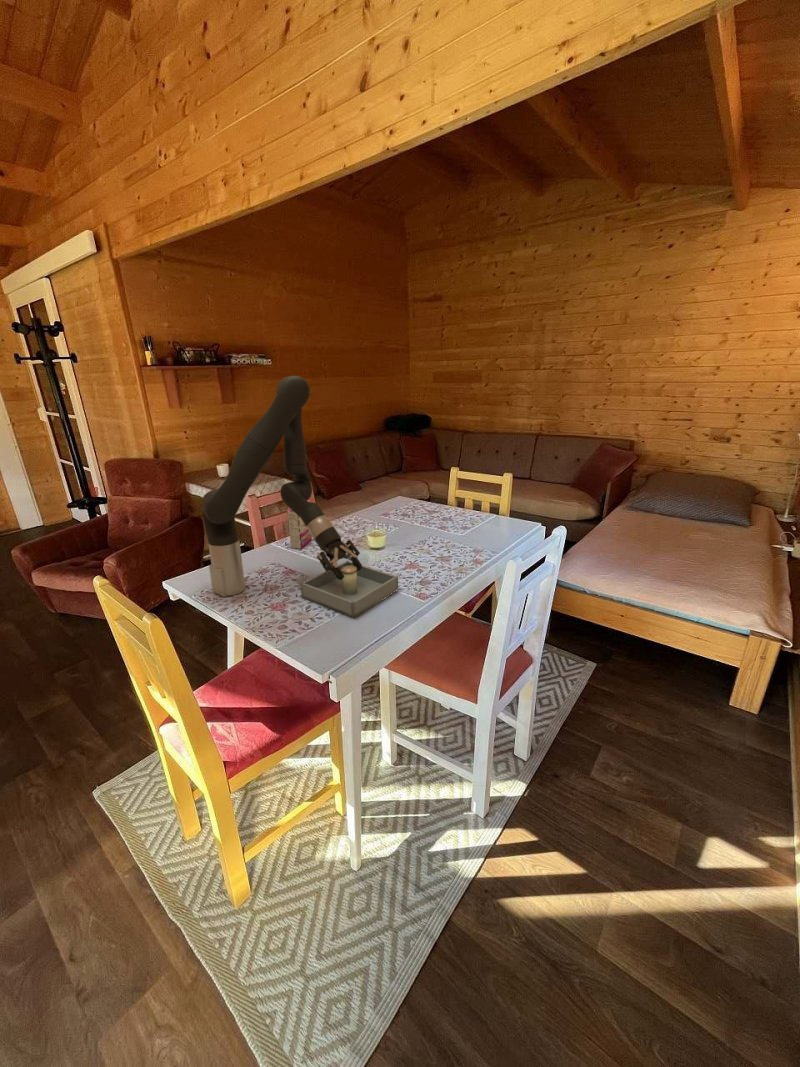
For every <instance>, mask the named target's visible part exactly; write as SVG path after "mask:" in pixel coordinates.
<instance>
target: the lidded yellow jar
mask: <svg viewBox="0 0 800 1067" xmlns="http://www.w3.org/2000/svg"><path fill="white" fill-rule="evenodd" d="M341 570H342V573H343V575H344V578H343V579H342V582H343V593H344V594H348V595H350V594H355V593H356V592H357V572H356V571H357V568H356V567H355V566H344V567H342V569H341Z"/></svg>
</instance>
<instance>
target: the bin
mask: <svg viewBox="0 0 800 1067" xmlns="http://www.w3.org/2000/svg"><path fill="white" fill-rule="evenodd" d="M344 566H354V565H353V563H352V561H351V560H346V561H345V562H342V563H340V564H337V567H339V569H340V570H341V569H342V567H344ZM341 572H342V570H341ZM356 572H357V592H356V593H355V594H350V595H348V594H344V593H343V582H342V580H339V579H338V578H337V577H336V576H335V574H334V573H333V571H331V570H329V571H325V570H324V571H323V572H321V573H319V574H317V575H315V576H313V577H311V578H309V579H306V580H305V581H303V582H301V583H300V593H301V598H302V599H305V600H307V601H309V602H312V603H315V604H317V605H319V606H321V607H324V608H326V609H329V610H331V611H334V612H336V613H339V614H341V615H343V616H344V615H345V616H346V617H349V618H351V619H355V618H357V617H359V616H360V615H362V614H364V613H365V612H366V610H367V611H368V610H370V609H371V608H373V607H374V606H376V605H377V604H376V603H378V602H379V601H381V600H382V599H384V598H385V597H387V596H388V595H390V594H391V593H393V592H394V591H396V590H397V589H398V590H399V577H398V575H397V576H396V575H394V574H390V573H388V572H384V571H381V570H378V569H375V568H372V567H367V566H366V565H363V564H362V569H361V570H359V571H356ZM396 592H397V591H396ZM393 594H394V593H393ZM390 596H391V595H390ZM387 598H388V597H387ZM385 599H386V598H385ZM385 599H384V600H385ZM382 601H383V600H382ZM382 601H381V602H382ZM379 603H380V602H379ZM379 603H378V604H379ZM375 604H376V605H375ZM372 606H373V607H372ZM369 608H370V609H369Z"/></svg>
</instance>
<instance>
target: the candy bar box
mask: <svg viewBox="0 0 800 1067" xmlns="http://www.w3.org/2000/svg"><path fill="white" fill-rule="evenodd" d="M286 511H287V522H288V530H289V531H288V532H289V542H290V548H291V549H294V550H295V549H296V550H302V549H304V548H305V547H306V546H307V545H308V544H309V543H310V542H311V541H312V540H313V537H312V536H311V534H310V532H309V530H308V528H307V527H306V525H305V524H304V522H303V521H302V519H301V518H300V517H299V516H298V515H297V514H296V513H295V512H294V511H292V510H291V509H290V508H288V510H286Z"/></svg>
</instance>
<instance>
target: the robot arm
mask: <svg viewBox="0 0 800 1067" xmlns="http://www.w3.org/2000/svg"><path fill="white" fill-rule="evenodd" d="M310 394H311V389H310V386H309V383H308V381H307V380H306V379H305V378H303V377H301V376H299V375H290V376H289V375H288V376H286V377H284V378H282V379H281V380H279V382H278V384H277V386H276V395H275V397H274V399H273V401H272V403H271V405H270V407H268V410H267V411H265V413H264V414H263V415H262V417H261V418H259V420H258V421H257V422H256V423H255V424H254V425H253V426H252V428H250V430H249V431H248V433H247V434H246V435H245V437H244V438H243V440H242V442H241V443H240V445H239V447H238V448H237V449H236V452H235V454H234V457H233V460H232V463H231V466H230V468H229V471H228V474H227V476H226V478H224V481H223V483H222V484H221V486H220V487H219V488H218V489H212V490H208V492H206V493H205V494H204V496H203V497H202V498H201V499H202V500H201V512H202V517H203V525H204V530H205V534H206V537H207V538H206V539H207V542H208V543H207V544H208V550H209V551H208V552H209V557H210V563H211V564H210V565H208V569H209V574H210V575H209V576H210V582H211V587H212V592H213V593H214V594H216V595H218V596H221V597H222V598H225V597H228V596H235V595H237V594H240V593H242V592H244V591H245V590H246V580H245V573H244V564H243V560H242V551H241V544H240V543H241V542H240V537H239V536H240V535H239V531H238V527H237V523H236V519H235V518H236V515H237V513H238V512H239V510H240V507H241V505H242V502H243V501H244V499H245V497H246V495H247V492H248V491H249V490H250V488H251V486H252V485H253V483H254V482H255V481H256V479H257V478H258V477H259V474H260V473H261V472H262V471H263V469H264V467H265V466H266V465H267V463H268V461H270V458H271V457H272V456H273V454H274V452H275V450H276V449H277V447H278V445H279V444H280V442H281V441H283V444H282V445H283V464H284V465H283V466H284V468H283V469H284V472H285V473H286V474H288V475H292V477H293V480H294V481H291V482H290V481H289V482H286V483H284V484H283V485H282V486H281V487H280V497H281V499H282V502H284V504H285V505H286V506H287V507H288V509H291V510H292V511H294V512H295V513H296V514H297V515H298V516H299V517H300V518H301V519H302V521H303V522H304V524H305V525H306V527H307V528H308V530H309V532H310V534H311V536H312V540H314V541H315V543H316V545H317V546H318V548H319V549H320V550H321V551H320V552H319V553H318V555H316V557H317V559H318V561H319V562H320V564H321V566H322V568H323V569H324V572H325V571H329V570H331V571H333V573H334V574H335V576H336V577H337V578H338V579H339V580H342V579H343V578H344V575H343V573H342V572H341V570H340V569H339V567H337V566H338V561H339V560H342V559H345V560H348V561H350V562H352V563H353V565H354V566H355V567H356V568H357V571H359V570H361V569H362V565H363V564H362V563H361V561H360V560H359V559H358V557H359V555H360V554H361V552H360V551H359V550H358V549H357V547H356V546H355V544H354V543H353V541H352V540H351V539H348V540H347V541H346V542H343V541H342V537H341V535H340V534H339V532H338V531H337V529H336V528H335V526H334V525H333V522H331V521H330V519H329V518H328V517H327V516H326V515H325V512H323V510H322V509H321V508H320V506H319V505H318V504H317V503H316V502H313V501H309V500H310V498H311V497H312V494H313V493H312V492H313V486H312V482H311V479H310V475H309V472H308V469H307V447H306V440H305V436H304V430H303V422H302V420H303V419H302V416H303V415H302V414H303V413H302V412H303V407H304V406H305V405H306V403H307V402H308V401H309V399H310ZM282 438H283V440H282Z"/></svg>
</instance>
